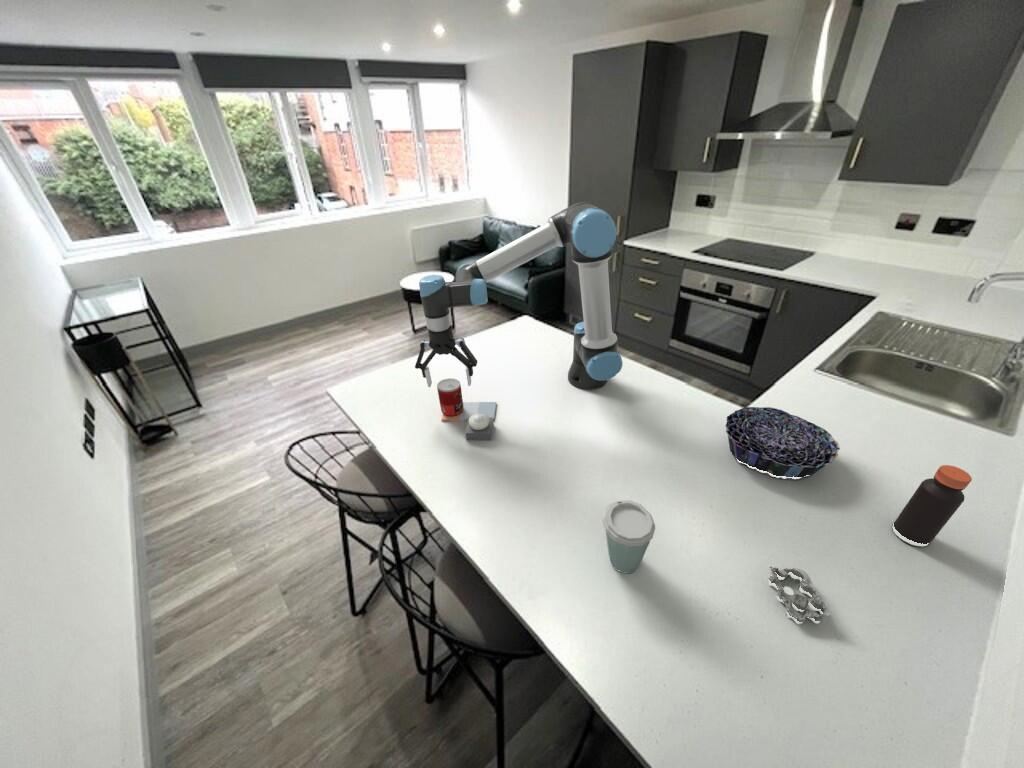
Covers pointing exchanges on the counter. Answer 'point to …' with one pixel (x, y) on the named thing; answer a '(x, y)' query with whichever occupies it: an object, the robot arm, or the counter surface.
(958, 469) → the bottle
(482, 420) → the dome button
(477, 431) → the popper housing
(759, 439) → the decorative bowl
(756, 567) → the counter surface
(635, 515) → the disposable coffee cup
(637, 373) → the counter surface
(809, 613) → the grey lumpy piece
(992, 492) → the counter surface
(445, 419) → the flat rectangular panel
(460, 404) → the canned food
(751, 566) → the counter surface
